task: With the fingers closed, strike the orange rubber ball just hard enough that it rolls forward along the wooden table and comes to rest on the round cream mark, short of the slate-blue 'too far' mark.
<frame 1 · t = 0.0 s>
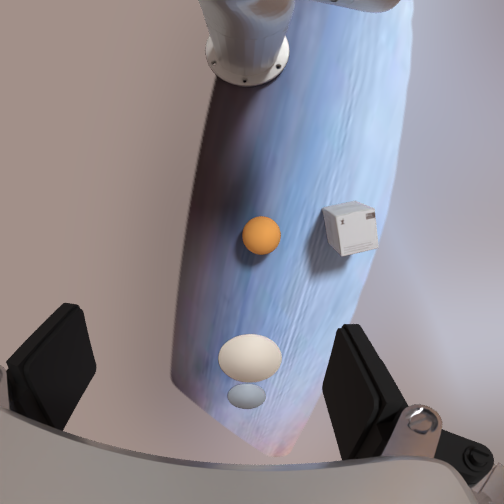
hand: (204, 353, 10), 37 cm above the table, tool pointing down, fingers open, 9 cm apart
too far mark: (246, 396, 57), on the table
skincare box: (341, 221, 46), on the table
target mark: (250, 359, 54), on the table
ball: (261, 235, 44), on the table
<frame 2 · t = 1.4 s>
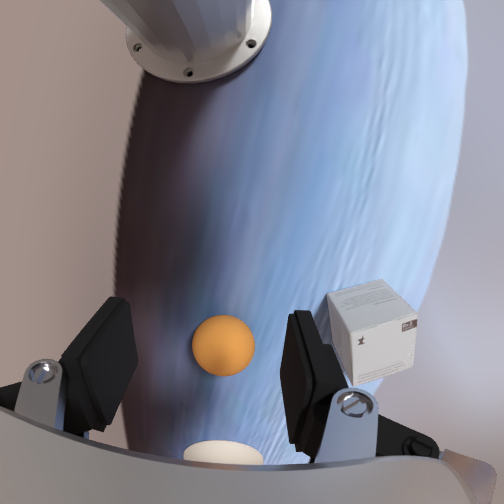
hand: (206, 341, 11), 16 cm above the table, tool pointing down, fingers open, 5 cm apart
skincare box: (356, 309, 28), on the table
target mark: (223, 460, 36), on the table
ball: (223, 345, 26), on the table
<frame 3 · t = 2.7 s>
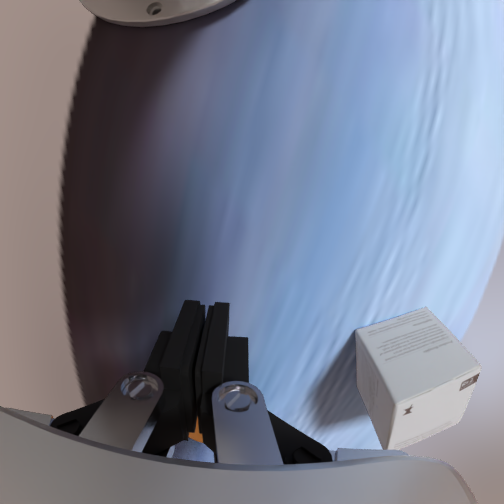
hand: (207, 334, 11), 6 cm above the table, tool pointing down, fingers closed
skincare box: (390, 345, 20), on the table
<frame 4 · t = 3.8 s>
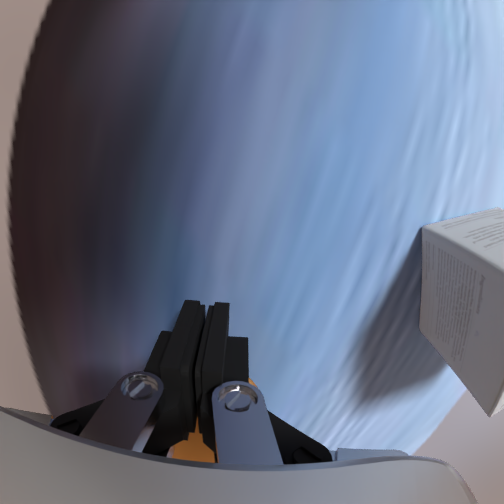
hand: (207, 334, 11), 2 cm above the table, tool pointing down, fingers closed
skincare box: (460, 265, 13), on the table
ball: (205, 417, 12), on the table
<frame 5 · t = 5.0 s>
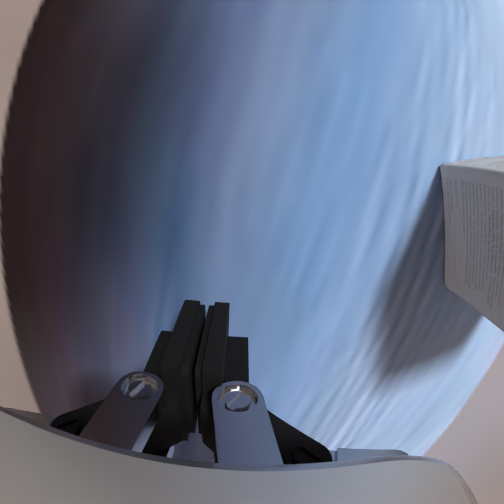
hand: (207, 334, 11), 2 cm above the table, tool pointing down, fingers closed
skincare box: (481, 215, 11), on the table
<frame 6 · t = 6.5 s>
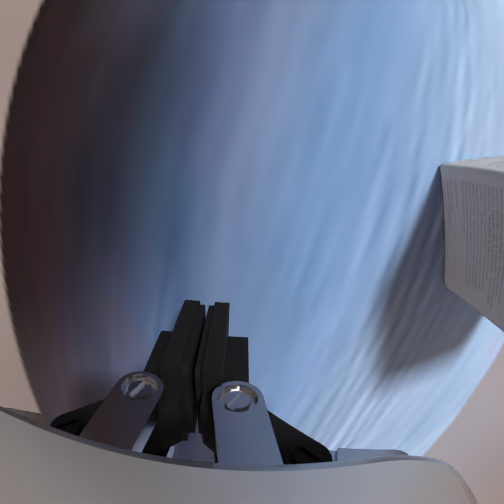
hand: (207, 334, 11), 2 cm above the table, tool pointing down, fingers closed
skincare box: (481, 215, 11), on the table
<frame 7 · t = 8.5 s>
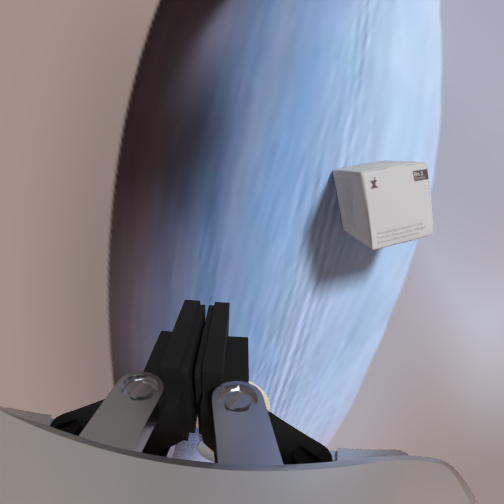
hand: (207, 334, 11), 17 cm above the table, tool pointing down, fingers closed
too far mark: (223, 450, 37), on the table
skincare box: (364, 194, 27), on the table
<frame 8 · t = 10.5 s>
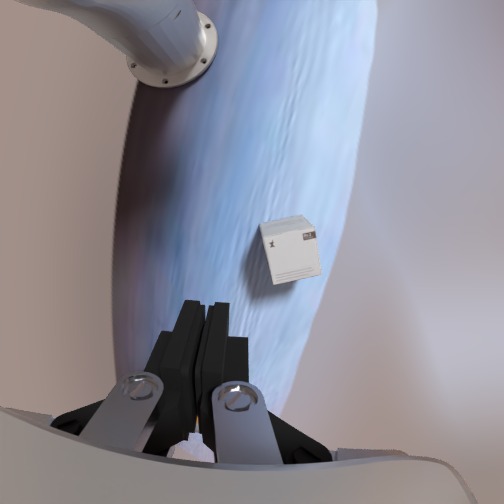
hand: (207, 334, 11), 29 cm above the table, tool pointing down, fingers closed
skincare box: (285, 238, 40), on the table
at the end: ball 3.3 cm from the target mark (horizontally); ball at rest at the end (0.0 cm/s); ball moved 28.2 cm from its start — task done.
